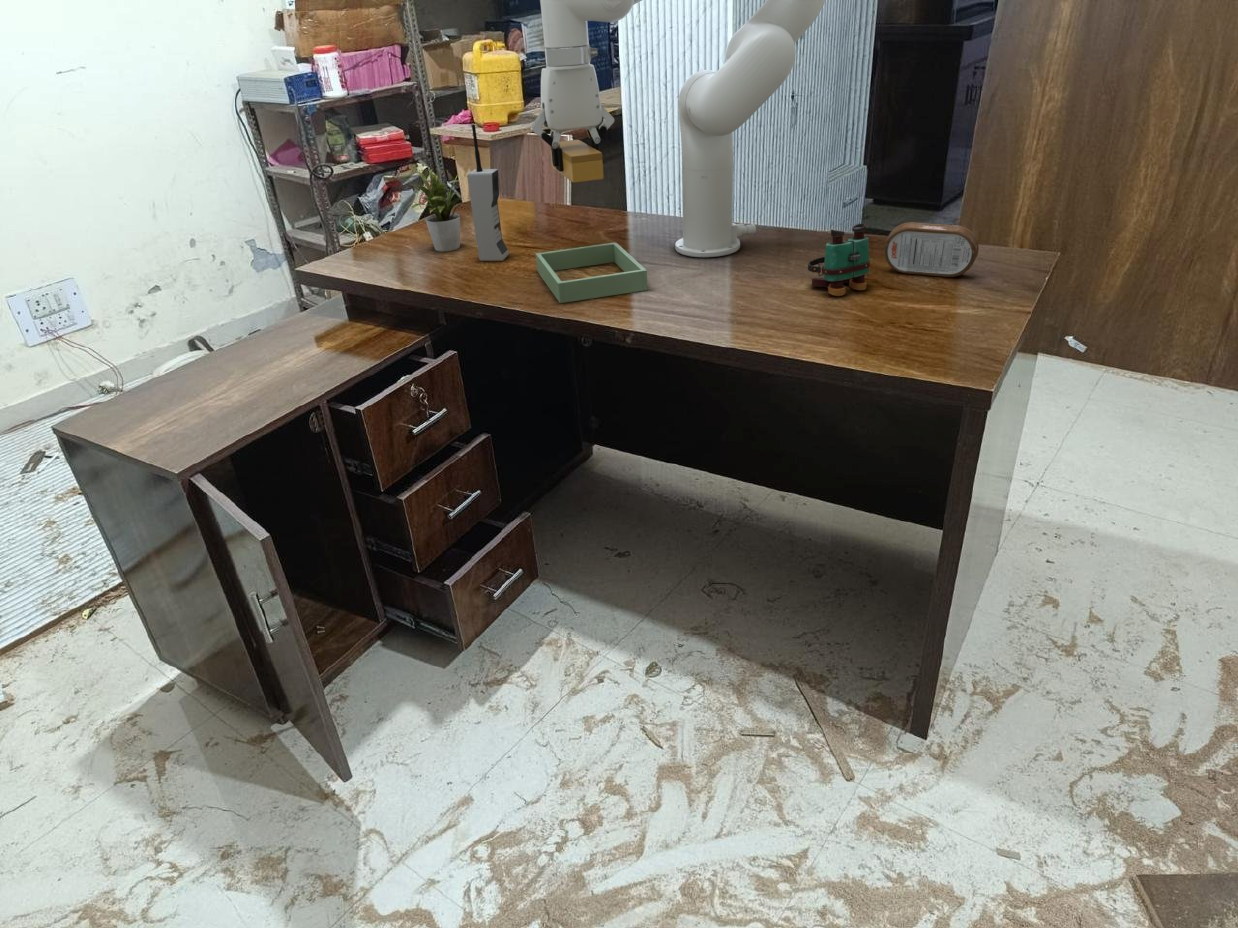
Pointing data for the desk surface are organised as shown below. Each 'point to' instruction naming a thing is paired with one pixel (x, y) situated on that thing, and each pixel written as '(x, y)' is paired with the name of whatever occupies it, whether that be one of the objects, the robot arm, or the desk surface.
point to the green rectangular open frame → (591, 286)
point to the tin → (931, 249)
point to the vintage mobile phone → (486, 210)
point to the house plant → (441, 214)
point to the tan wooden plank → (580, 161)
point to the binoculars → (843, 262)
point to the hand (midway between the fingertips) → (576, 167)
